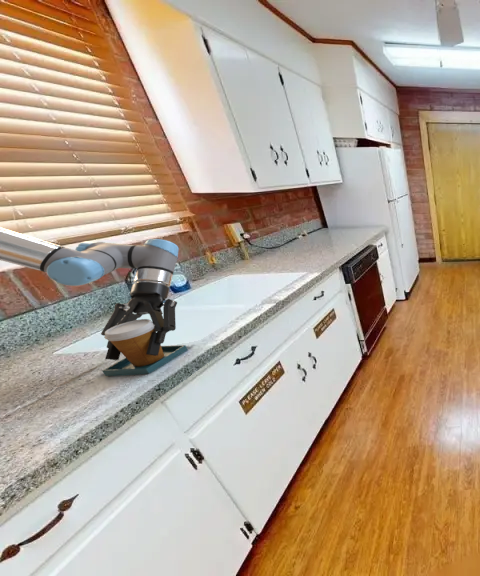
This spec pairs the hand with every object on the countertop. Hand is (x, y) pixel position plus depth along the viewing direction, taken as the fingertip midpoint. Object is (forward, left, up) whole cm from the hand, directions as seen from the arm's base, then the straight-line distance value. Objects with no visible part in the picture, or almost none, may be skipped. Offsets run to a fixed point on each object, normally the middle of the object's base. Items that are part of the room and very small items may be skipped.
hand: (132, 357), depth 85 cm
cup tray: (-1, +3, -4) cm, 5 cm away
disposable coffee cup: (0, +3, -4) cm, 5 cm away
